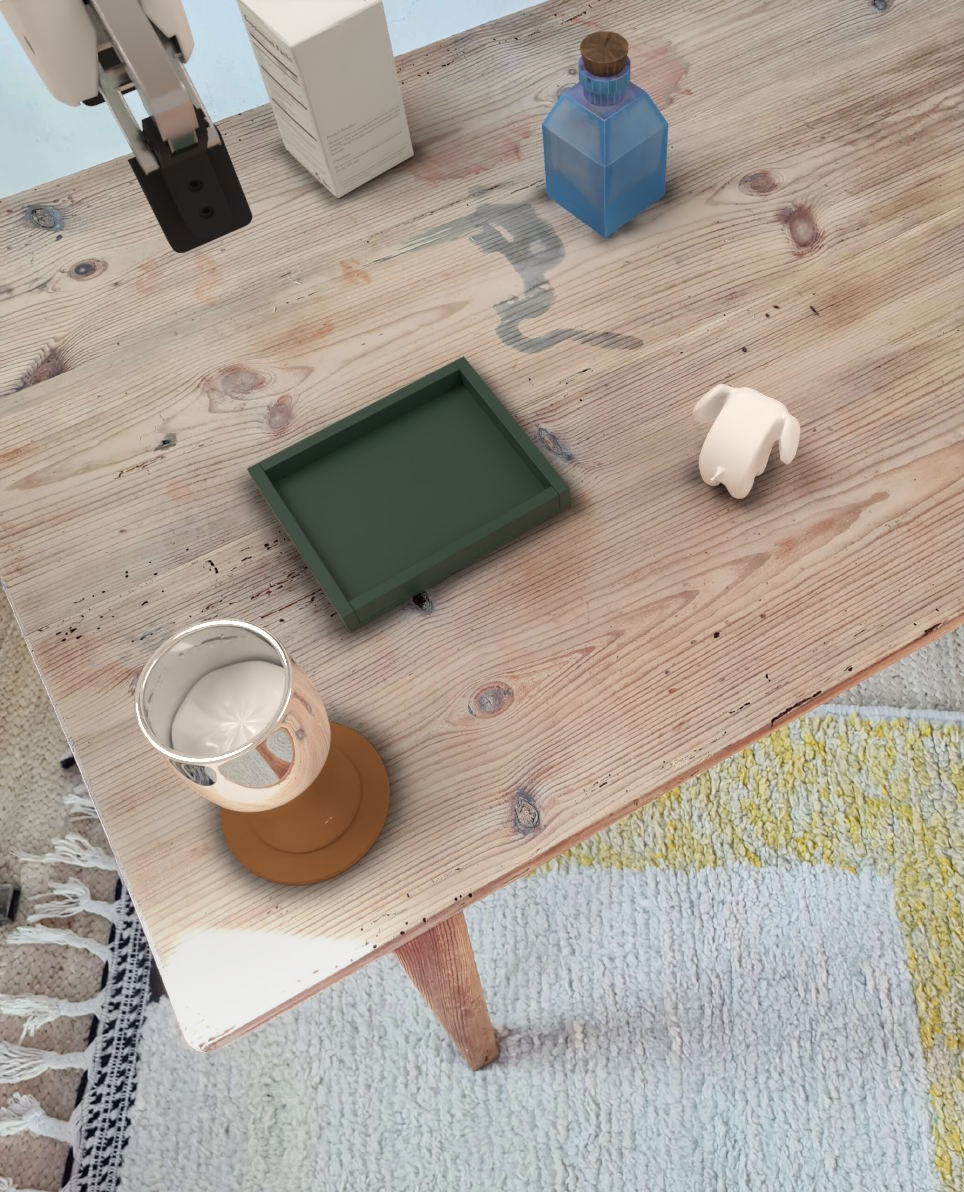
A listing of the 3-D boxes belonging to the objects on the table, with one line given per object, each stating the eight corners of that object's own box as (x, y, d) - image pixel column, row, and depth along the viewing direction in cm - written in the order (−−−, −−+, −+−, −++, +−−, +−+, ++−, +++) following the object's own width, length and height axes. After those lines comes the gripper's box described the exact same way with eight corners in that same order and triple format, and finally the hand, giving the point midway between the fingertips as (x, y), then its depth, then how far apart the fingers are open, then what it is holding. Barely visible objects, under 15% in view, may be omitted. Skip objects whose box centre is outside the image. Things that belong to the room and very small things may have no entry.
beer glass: (294, 714, 60) (204, 586, 47) (395, 775, 58) (331, 660, 45) (212, 819, 57) (92, 715, 44) (316, 887, 56) (223, 799, 42)
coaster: (268, 919, 55) (265, 917, 55) (196, 781, 59) (192, 777, 58) (420, 823, 58) (418, 819, 57) (342, 695, 61) (339, 691, 61)
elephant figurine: (814, 448, 69) (830, 388, 64) (754, 539, 66) (766, 484, 60) (721, 403, 71) (730, 342, 65) (659, 490, 67) (663, 433, 62)
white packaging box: (362, 108, 85) (324, -53, 74) (416, 157, 82) (385, -2, 71) (282, 150, 83) (230, -9, 71) (335, 202, 80) (290, 45, 69)
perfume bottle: (664, 195, 80) (672, 46, 69) (605, 238, 78) (603, 91, 67) (606, 154, 82) (604, 4, 71) (546, 195, 80) (536, 47, 69)
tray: (349, 633, 63) (342, 618, 61) (256, 486, 68) (246, 468, 66) (571, 506, 67) (570, 488, 65) (467, 375, 72) (463, 355, 70)
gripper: (-310, -476, 30) (3, 75, 45) (-152, -202, 23) (156, 342, 38) (-44, -540, 32) (171, 11, 47) (178, -303, 25) (347, 255, 40)
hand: (164, 159), depth 42 cm, fingers open, 9 cm apart
